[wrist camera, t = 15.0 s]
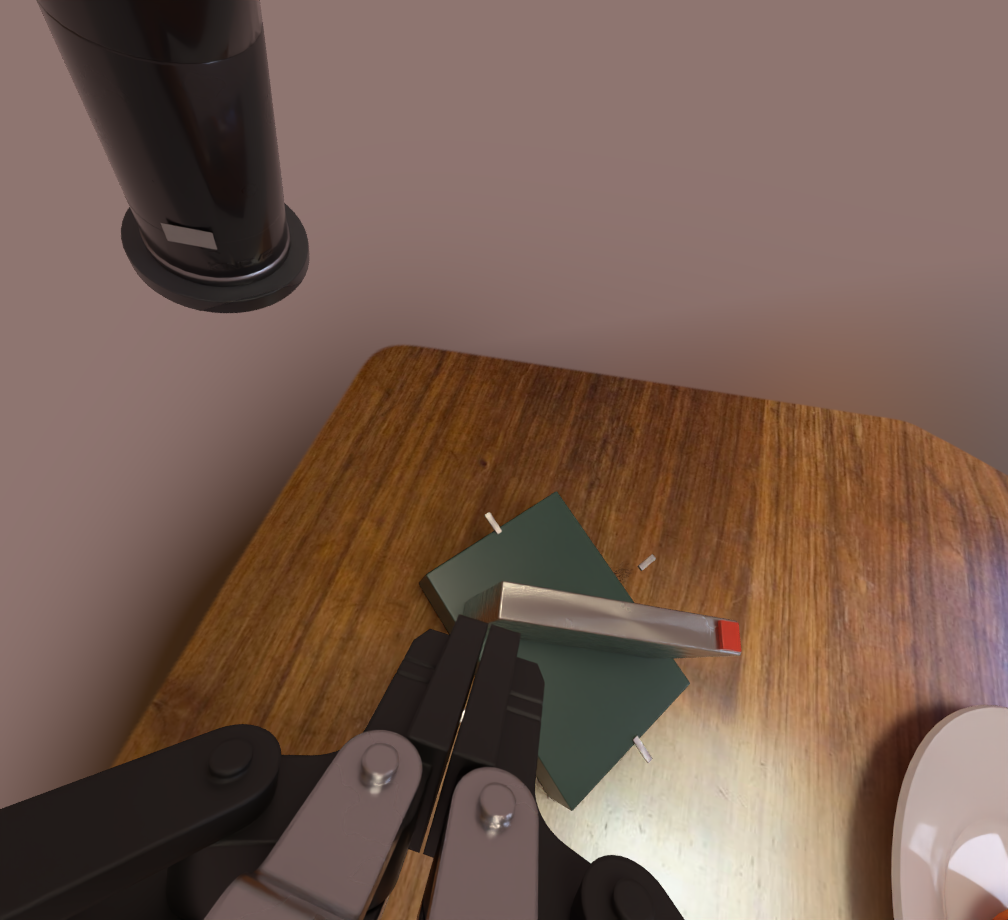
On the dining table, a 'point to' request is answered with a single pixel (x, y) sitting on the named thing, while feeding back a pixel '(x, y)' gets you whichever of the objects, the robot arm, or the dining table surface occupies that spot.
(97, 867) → the robot arm
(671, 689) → the base block
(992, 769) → the plate
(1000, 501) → the dining table surface
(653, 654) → the upright slab
